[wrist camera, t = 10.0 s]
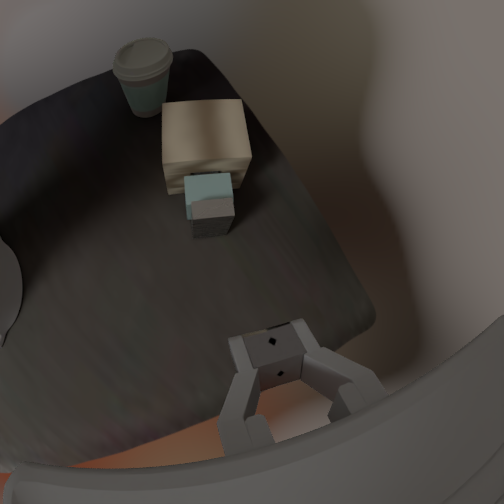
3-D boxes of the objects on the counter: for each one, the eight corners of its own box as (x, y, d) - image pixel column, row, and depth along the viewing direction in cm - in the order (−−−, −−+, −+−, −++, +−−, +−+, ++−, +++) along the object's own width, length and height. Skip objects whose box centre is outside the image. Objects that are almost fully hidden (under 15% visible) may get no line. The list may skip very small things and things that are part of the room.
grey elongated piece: (192, 238, 36) (192, 219, 28) (184, 125, 39) (184, 89, 31) (226, 235, 37) (234, 215, 29) (212, 123, 40) (217, 88, 32)
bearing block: (168, 194, 37) (162, 163, 28) (166, 140, 38) (162, 103, 30) (239, 188, 39) (252, 157, 31) (231, 136, 41) (241, 99, 32)
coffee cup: (147, 81, 40) (142, 30, 28) (184, 99, 40) (186, 45, 29) (113, 112, 38) (98, 61, 26) (150, 132, 38) (140, 79, 27)
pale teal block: (187, 219, 36) (186, 205, 30) (184, 194, 36) (184, 176, 31) (228, 215, 37) (233, 200, 32) (224, 190, 37) (229, 172, 32)
